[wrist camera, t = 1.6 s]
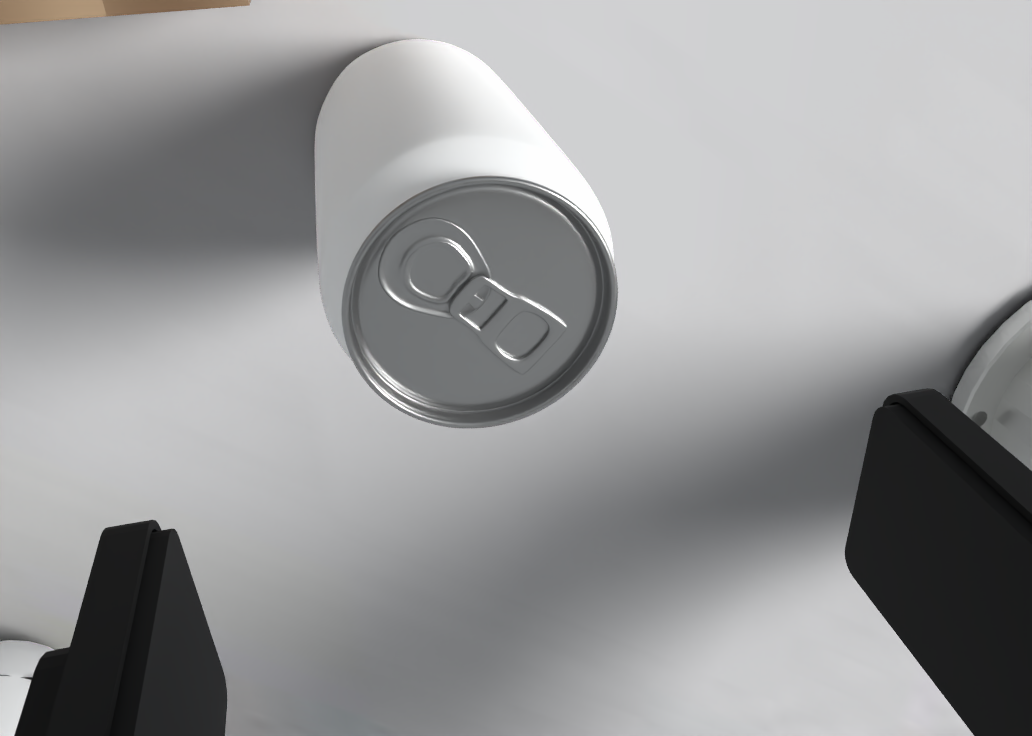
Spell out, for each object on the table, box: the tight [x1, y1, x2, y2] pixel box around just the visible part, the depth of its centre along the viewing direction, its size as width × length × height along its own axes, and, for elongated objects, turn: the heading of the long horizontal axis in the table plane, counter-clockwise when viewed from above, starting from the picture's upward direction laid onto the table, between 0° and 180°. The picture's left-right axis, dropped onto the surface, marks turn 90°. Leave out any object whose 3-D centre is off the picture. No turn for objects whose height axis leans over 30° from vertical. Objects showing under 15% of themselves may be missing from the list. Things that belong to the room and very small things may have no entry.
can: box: [315, 39, 618, 428], centre depth 22 cm, size 6×6×12 cm
